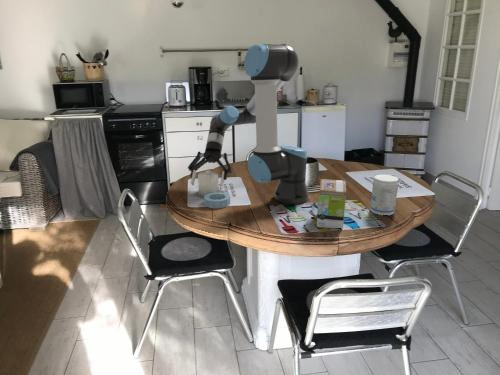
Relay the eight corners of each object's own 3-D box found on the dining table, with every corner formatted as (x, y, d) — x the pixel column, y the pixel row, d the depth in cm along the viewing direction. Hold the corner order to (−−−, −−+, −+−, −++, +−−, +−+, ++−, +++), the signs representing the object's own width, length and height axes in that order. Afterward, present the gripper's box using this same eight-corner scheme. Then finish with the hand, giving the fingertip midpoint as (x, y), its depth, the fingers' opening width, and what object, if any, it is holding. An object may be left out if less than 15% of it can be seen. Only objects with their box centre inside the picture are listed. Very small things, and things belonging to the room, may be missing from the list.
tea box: (343, 229, 153) (346, 191, 148) (316, 227, 155) (318, 189, 150) (343, 214, 167) (346, 179, 162) (318, 212, 169) (320, 177, 164)
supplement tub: (366, 208, 174) (369, 174, 169) (388, 207, 175) (392, 173, 170) (375, 216, 165) (379, 181, 160) (398, 216, 165) (403, 180, 161)
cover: (221, 191, 191) (221, 169, 188) (212, 197, 184) (211, 174, 180) (205, 189, 195) (204, 167, 192) (194, 194, 187) (193, 172, 184)
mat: (226, 192, 192) (226, 191, 192) (213, 200, 182) (213, 199, 182) (203, 188, 197) (203, 187, 197) (190, 196, 187) (190, 195, 187)
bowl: (234, 202, 180) (234, 194, 178) (222, 210, 170) (222, 202, 169) (212, 198, 184) (212, 191, 183) (199, 206, 174) (199, 198, 173)
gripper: (241, 150, 197) (235, 190, 188) (190, 147, 201) (182, 187, 192) (239, 141, 191) (232, 182, 181) (187, 139, 194) (178, 179, 185)
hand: (206, 184), depth 186 cm, fingers open, 13 cm apart
